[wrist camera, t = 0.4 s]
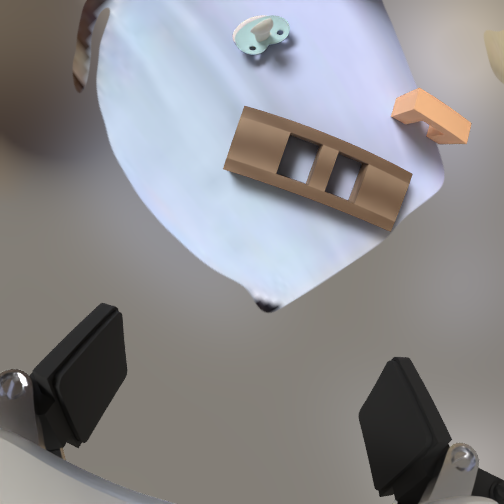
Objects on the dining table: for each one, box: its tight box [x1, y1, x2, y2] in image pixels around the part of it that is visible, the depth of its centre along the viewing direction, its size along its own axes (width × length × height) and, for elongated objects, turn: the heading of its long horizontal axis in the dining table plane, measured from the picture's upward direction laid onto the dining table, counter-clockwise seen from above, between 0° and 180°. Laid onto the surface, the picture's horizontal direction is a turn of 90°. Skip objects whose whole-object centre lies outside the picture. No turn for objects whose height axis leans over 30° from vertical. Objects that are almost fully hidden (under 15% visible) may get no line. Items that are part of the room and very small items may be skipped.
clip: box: [391, 88, 471, 144], centre depth 28 cm, size 3×8×7 cm, turn 72°
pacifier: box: [233, 15, 290, 55], centre depth 26 cm, size 7×6×6 cm
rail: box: [223, 106, 412, 232], centre depth 33 cm, size 8×22×3 cm, turn 72°
